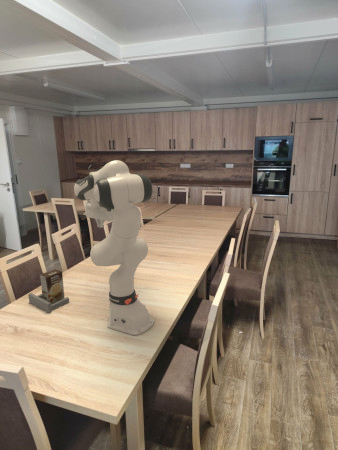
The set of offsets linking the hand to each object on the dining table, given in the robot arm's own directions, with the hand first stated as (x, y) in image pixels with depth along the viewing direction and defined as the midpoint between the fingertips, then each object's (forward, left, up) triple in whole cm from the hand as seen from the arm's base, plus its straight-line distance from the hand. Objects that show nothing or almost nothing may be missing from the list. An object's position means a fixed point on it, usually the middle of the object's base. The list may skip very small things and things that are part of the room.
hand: (100, 227), depth 159 cm
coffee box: (+12, +25, -37) cm, 46 cm away
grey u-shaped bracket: (+12, +27, -37) cm, 48 cm away
